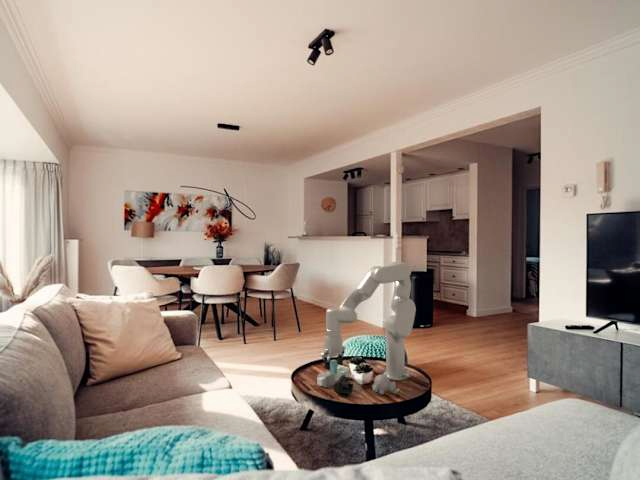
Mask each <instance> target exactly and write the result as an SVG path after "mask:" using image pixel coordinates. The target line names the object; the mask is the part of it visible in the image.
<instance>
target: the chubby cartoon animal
mask: <svg viewBox="0 0 640 480" xmlns="http://www.w3.org/2000/svg"><path fill="white" fill-rule="evenodd" d="M374 377H375V378H374V381H373V382H374V383H373V384H372V385H371V387H372V392H375V393H378V394H379V395H381V396H383V395H384V394H385V391H387V390H388V391H389V392H391V393H392V394H394V395H396V394H397V393H398V392H399V391H400V387H397V386H396V385H397V384H396V380H393V381H390V380H391V379H389V378H388V377H387V376H386V375H384V374H383V373H381V374H380V373H379V374H378V375H376V376H374Z"/></svg>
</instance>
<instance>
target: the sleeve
mask: <svg viewBox="0 0 640 480" xmlns="http://www.w3.org/2000/svg"><path fill="white" fill-rule="evenodd" d="M319 377H322V378H324V385H322V386H321V385H318V386H320V387H323V388H324V389H325V388H328V387H331V386H334V384H335V383H336V380H335V373H332V372H330V370H326V371H324V372H321V373H318V374H317V378H319Z"/></svg>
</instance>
